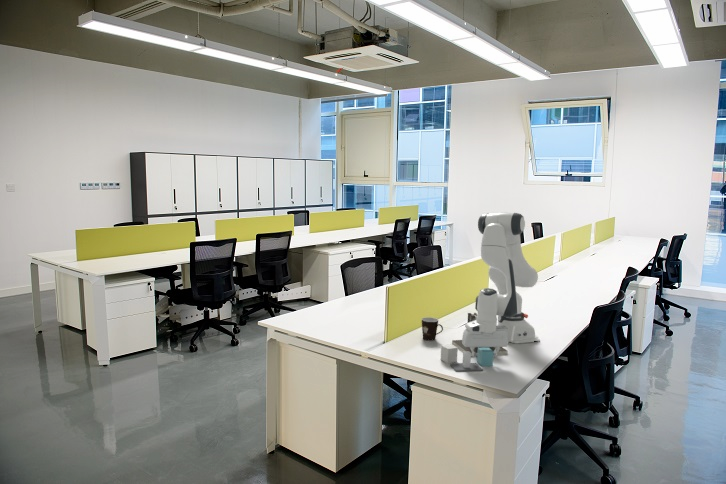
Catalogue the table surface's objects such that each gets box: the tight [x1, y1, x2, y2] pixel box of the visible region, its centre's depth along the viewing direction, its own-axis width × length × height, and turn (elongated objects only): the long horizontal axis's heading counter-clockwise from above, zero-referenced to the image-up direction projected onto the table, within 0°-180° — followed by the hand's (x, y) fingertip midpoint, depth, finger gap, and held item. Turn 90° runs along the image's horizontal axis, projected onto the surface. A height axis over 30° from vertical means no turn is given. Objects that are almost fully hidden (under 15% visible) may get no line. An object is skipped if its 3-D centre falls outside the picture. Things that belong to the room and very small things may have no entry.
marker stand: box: [449, 351, 484, 373], centre depth 214 cm, size 12×8×7 cm, turn 98°
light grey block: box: [440, 343, 459, 364], centre depth 222 cm, size 5×5×7 cm
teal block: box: [476, 347, 494, 367], centre depth 219 cm, size 5×5×7 cm
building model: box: [451, 312, 508, 357], centre depth 238 cm, size 20×20×18 cm
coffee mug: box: [421, 316, 444, 342], centre depth 251 cm, size 12×9×10 cm
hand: (484, 356), depth 219 cm, fingers open, 8 cm apart
